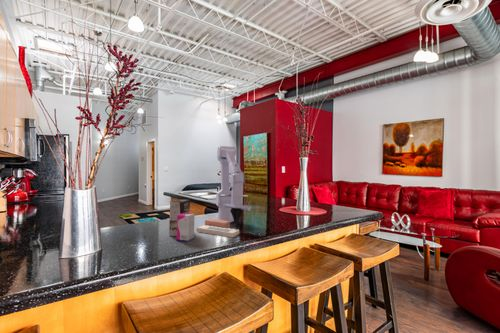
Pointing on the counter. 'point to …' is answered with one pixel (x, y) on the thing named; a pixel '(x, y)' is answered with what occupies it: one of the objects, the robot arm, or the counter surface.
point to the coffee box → (177, 213)
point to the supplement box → (185, 227)
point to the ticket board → (218, 230)
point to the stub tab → (218, 223)
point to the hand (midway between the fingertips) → (236, 223)
